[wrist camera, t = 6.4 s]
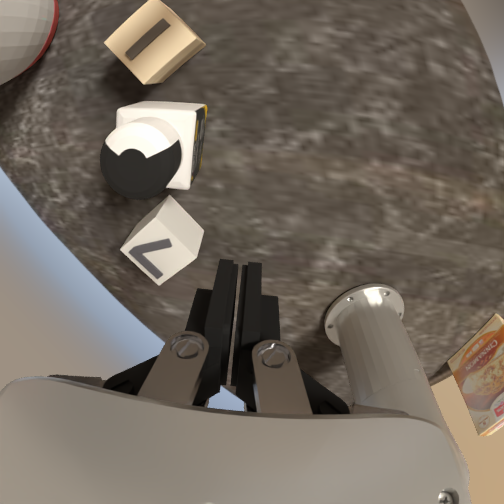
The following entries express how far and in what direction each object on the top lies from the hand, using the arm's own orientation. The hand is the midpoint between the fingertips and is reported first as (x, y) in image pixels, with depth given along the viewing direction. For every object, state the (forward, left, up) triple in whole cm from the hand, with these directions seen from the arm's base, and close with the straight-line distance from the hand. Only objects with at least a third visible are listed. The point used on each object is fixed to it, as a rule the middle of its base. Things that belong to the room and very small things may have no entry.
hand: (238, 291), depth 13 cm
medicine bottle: (+7, +5, -23) cm, 24 cm away
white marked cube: (-1, +13, -23) cm, 26 cm away
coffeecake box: (-56, -16, -23) cm, 63 cm away
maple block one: (+15, -1, -23) cm, 27 cm away
